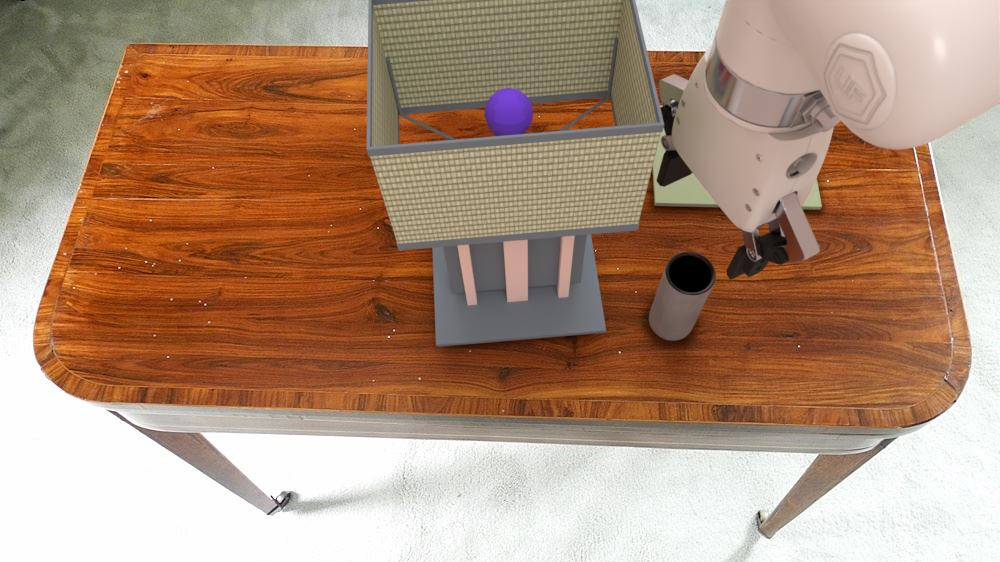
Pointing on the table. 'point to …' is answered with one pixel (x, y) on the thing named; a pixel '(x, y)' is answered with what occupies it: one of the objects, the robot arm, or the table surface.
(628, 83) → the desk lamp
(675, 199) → the mat
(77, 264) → the table surface
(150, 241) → the table surface
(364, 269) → the table surface
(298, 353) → the table surface
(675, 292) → the gray hollow cylinder
